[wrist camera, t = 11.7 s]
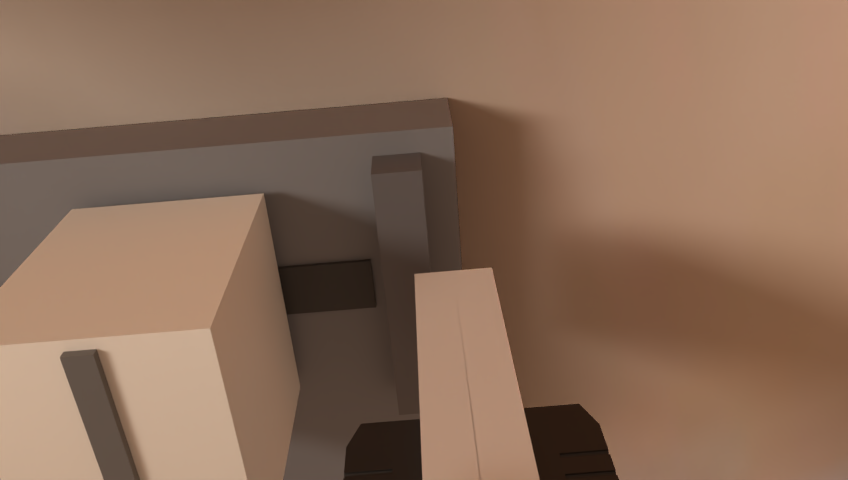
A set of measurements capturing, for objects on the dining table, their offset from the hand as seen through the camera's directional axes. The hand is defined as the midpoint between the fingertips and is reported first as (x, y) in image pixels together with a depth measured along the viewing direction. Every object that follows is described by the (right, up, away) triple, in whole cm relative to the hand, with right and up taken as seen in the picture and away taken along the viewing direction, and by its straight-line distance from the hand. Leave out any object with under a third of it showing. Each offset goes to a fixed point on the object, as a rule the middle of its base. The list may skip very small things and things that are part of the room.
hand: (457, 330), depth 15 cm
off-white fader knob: (-6, 0, +2) cm, 6 cm away
